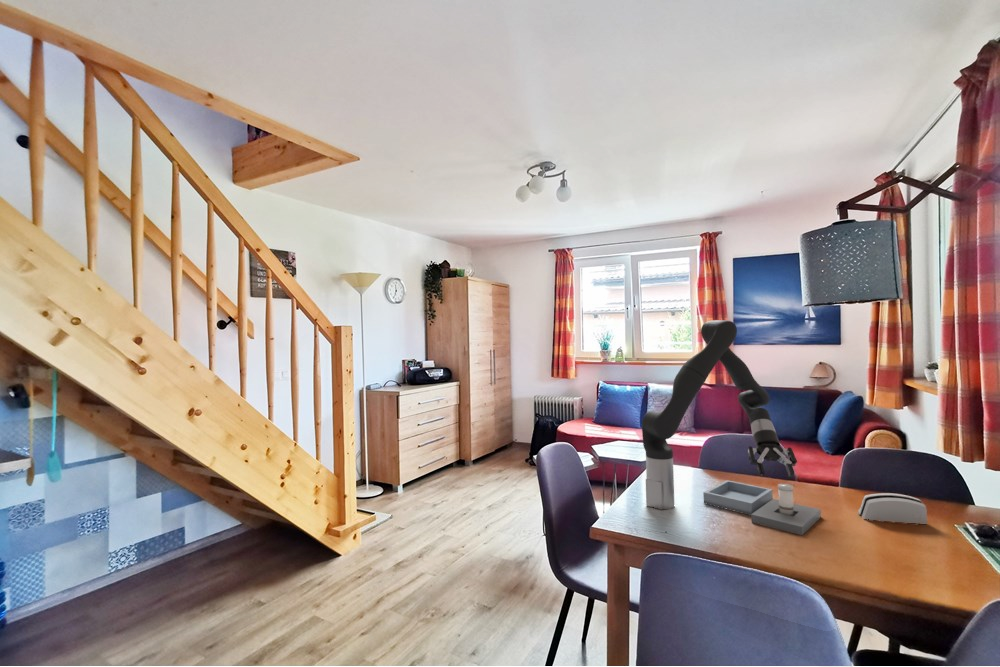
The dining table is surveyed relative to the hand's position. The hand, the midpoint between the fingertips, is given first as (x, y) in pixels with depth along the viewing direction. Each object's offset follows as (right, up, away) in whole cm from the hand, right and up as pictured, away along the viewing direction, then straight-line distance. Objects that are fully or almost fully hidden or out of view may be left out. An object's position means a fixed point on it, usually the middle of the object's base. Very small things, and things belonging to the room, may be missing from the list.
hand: (777, 475), depth 155 cm
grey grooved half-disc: (+31, -12, -10) cm, 34 cm away
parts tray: (-8, -12, +10) cm, 18 cm away
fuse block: (-1, -12, -7) cm, 14 cm away
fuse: (-1, -12, -7) cm, 14 cm away
